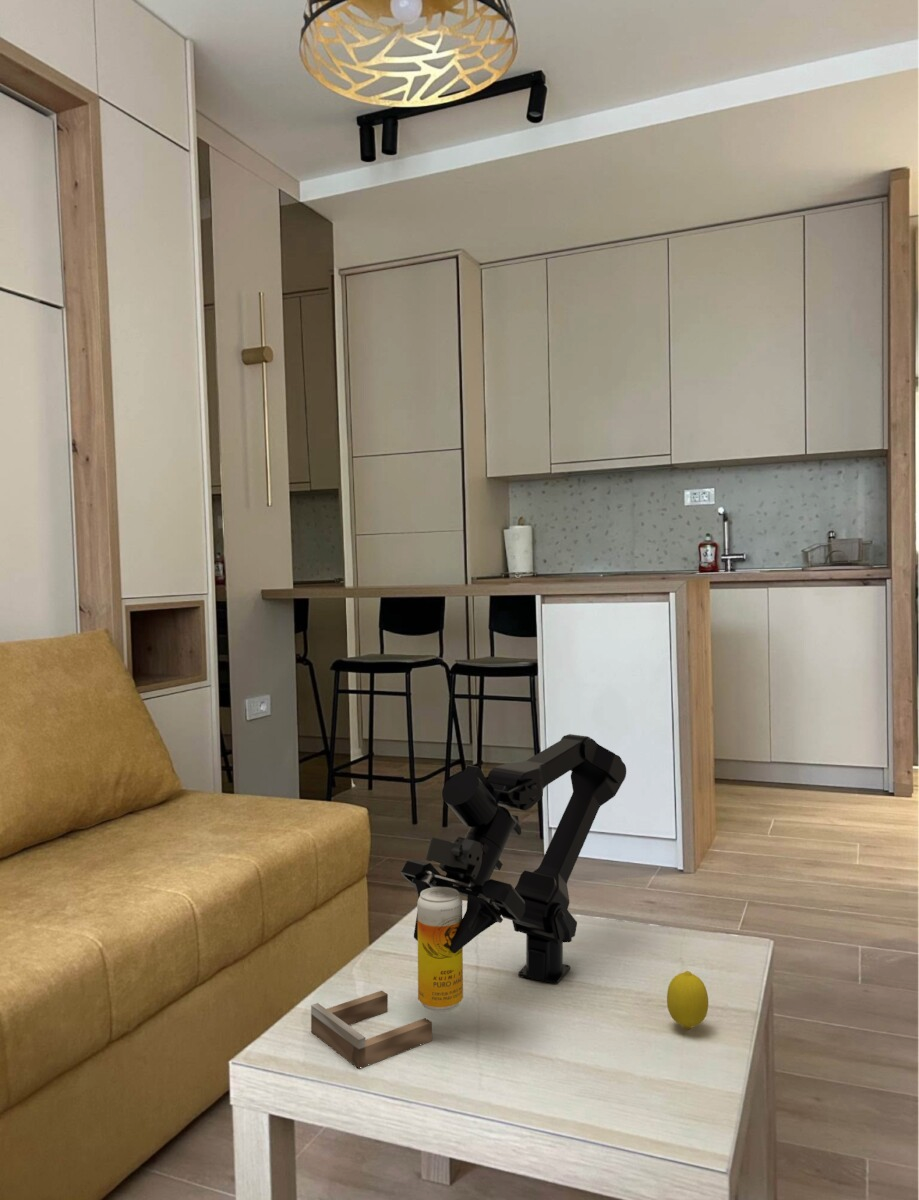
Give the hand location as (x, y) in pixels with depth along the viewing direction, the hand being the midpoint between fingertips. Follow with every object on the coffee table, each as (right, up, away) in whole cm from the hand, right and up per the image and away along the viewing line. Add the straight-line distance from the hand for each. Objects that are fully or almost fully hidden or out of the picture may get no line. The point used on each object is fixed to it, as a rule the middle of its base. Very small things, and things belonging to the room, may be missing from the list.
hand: (433, 945), depth 122 cm
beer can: (+1, -8, +1) cm, 9 cm away
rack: (-9, -12, 0) cm, 15 cm away
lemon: (+35, -13, +3) cm, 37 cm away
